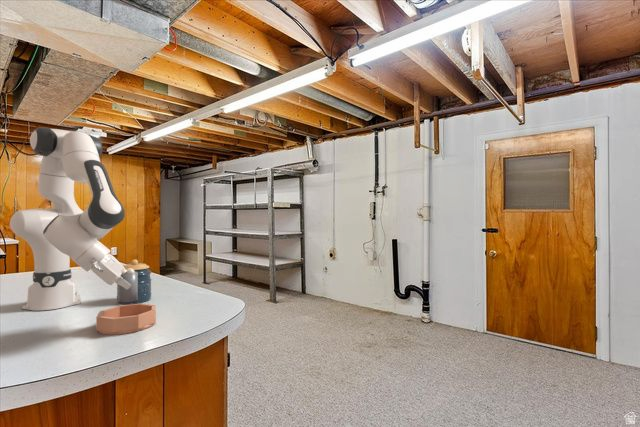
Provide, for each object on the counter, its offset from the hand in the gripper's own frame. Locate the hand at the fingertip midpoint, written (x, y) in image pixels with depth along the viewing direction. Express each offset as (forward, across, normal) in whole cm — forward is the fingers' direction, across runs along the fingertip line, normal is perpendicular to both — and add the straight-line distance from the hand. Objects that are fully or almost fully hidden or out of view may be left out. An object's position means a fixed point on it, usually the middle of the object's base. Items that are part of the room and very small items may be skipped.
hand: (130, 285), depth 109 cm
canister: (+9, +36, +10) cm, 39 cm away
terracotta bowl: (+9, 0, +10) cm, 13 cm away
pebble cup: (+3, 0, +4) cm, 5 cm away
